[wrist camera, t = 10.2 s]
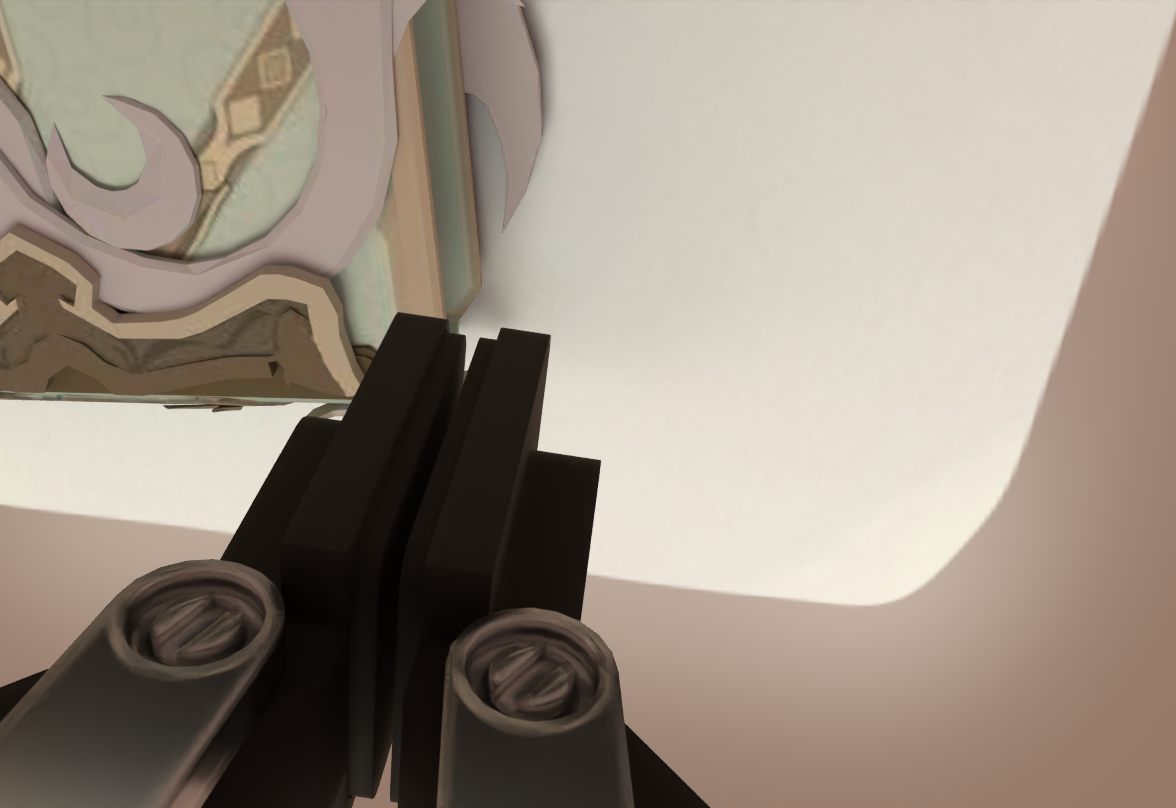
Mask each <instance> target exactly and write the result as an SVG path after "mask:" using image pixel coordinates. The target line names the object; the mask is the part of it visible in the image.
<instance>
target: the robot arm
mask: <svg viewBox="0 0 1176 808" xmlns="http://www.w3.org/2000/svg"><path fill="white" fill-rule="evenodd" d="M550 339H551V335H548V334H541V333H535V332H528V331H521V330H515V329H508V328H501V329H500V332H499V335H498V338H497V340H494V339H487V338H480V339H479V341H478V344H477V347H476V349H475V352H474V355H473V358H472V361H471V364H470V366H469V369H468V372H467V375H466V378H465V381H464V383H463V380H464V366H465V353H466V336H465V335H461V334H454V333H450V328H449V321H448V319H442V318H436V317H429V316H423V315H416V314H409V313H403V312H397V314H396V315H395V317H394V319H393V321H392V323H391V324H390V326H389V328H388V330H387V332H386V334H385V336H384V338H383V340H382V342H381V344H380V346H379V348H378V350H377V352H376V354H375V356H374V358H373V360H372V362H371V364H370V366H369V368H368V370H367V372H366V374H365V376H364V378H363V380H362V382H361V383H360V385H359V387H358V389H357V391H356V393H355V395H354V397H353V399H352V401H351V403H350V405H349V407H348V409H347V411H346V413H345V415H344V417H343V419H342V421H339V420H333V419H326V418H319V417H313V416H306V417H303V418H302V419H301V420H300V422H299V423H298V424H297V426H296V427H295V429H294V431H293V433H292V434H291V436H290V438H289V440H288V441H287V443H286V445H285V447H284V448H283V450H282V452H281V454H280V455H279V457H278V459H277V461H276V462H275V464H274V466H273V468H272V469H271V471H270V473H269V475H268V477H267V478H266V480H265V482H264V484H263V485H262V487H261V489H260V491H259V492H258V494H257V496H256V498H255V499H254V501H253V503H252V505H251V506H250V508H249V510H248V512H247V513H246V515H245V517H244V519H243V520H242V522H241V524H240V526H239V527H238V529H237V531H236V533H235V534H234V536H233V538H232V540H231V542H230V543H229V545H228V547H227V549H226V550H225V552H224V554H223V556H222V558H221V559H220V560H214V559H210V560H193V561H184V562H180V563H176V564H172V565H168V566H164V567H160V568H158V569H156V570H154V571H152V572H150V573H148V574H146V575H144V576H142V577H140V578H137V579H136V580H134V581H133V582H132V583H131V584H129V585H128V586H127V587H126V588H125V589H123V590H122V591H121V592H120V593H119V594H117V595H116V596H115V598H114V599H113V600H112V601H111V602H110V603H109V604H108V605H107V606H106V607H105V608H104V609H103V611H102V612H101V613H100V614H99V615H98V616H97V617H96V618H95V619H94V621H92V623H91V624H90V625H89V626H88V627H87V628H86V629H85V630H84V631H83V632H82V634H81V635H80V636H79V637H78V638H77V639H76V640H75V641H74V642H73V643H72V645H71V646H70V647H69V648H68V649H67V650H66V651H65V652H64V653H63V654H62V655H61V656H60V658H59V659H58V660H57V661H56V662H55V663H54V664H53V665H52V666H51V667H50V668H49V669H47V670H44V671H42V672H39V673H36V674H34V675H31V676H29V677H26V678H23V679H21V680H18V681H16V682H13V683H11V684H8V685H6V686H3V687H0V808H352V806H353V802H354V799H355V796H358V797H365V798H371V799H373V798H374V797H375V795H376V793H377V790H378V787H379V784H380V780H381V777H382V774H383V770H384V767H385V764H386V761H387V757H388V754H389V750H390V747H391V744H392V761H391V784H390V800H391V801H392V802H397V803H398V808H710V807H709V806H708V805H707V804H706V803H705V802H704V801H703V800H702V799H701V798H700V797H699V796H698V795H697V794H696V793H695V792H694V791H693V790H692V789H691V788H690V787H689V786H688V785H687V784H686V783H685V782H684V781H683V780H682V779H681V778H680V777H679V776H678V775H677V774H676V773H675V772H674V771H673V770H672V769H671V768H670V767H669V766H668V765H667V764H666V763H665V762H663V760H661V759H660V758H659V757H658V756H657V755H656V754H655V753H654V752H653V751H652V750H651V749H650V748H649V747H648V746H647V745H646V744H645V743H644V742H643V741H642V740H641V739H640V738H639V737H638V736H637V735H636V734H635V733H634V732H633V731H632V730H631V729H630V728H629V727H628V726H627V725H626V724H625V723H624V715H623V707H622V698H621V690H620V682H619V672H618V669H617V666H616V663H615V660H614V656H613V653H612V651H611V650H610V649H609V648H608V646H607V645H606V644H605V642H604V641H603V640H602V638H601V637H600V636H599V635H598V634H597V633H595V632H594V631H593V630H591V629H590V628H589V627H587V626H586V625H584V624H583V623H582V622H580V621H581V613H582V605H583V597H584V589H585V582H586V575H587V567H588V559H589V551H590V544H591V536H592V528H593V520H594V513H595V505H596V497H597V489H598V482H599V474H600V466H601V460H596V459H589V458H582V457H576V456H569V455H563V454H556V453H550V452H543V451H537V448H538V440H539V432H540V424H541V415H542V407H543V399H544V391H545V383H546V375H547V367H548V358H549V350H550Z"/></svg>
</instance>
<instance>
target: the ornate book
mask: <svg viewBox="0 0 1176 808" xmlns="http://www.w3.org/2000/svg"><path fill="white" fill-rule="evenodd" d="M520 6H522V7H526V4H525V3H524V2H523V0H0V399H6V400H47V401H85V402H123V403H159V404H202V405H164V407H166V408H167V409H209V408H214V409H212V412H219V411H229V410H241V409H242V407H243V406H276V405H286V404H290V403H294V402H308V403H327V404H325V405H322V406H320V407H318V408H315V409H313V410H312V411H311V412H310V413H309V414H308V415H307V416H313V417H319V418H326V419H327V418H330V417H333V416H344V415H345V413H346V411H347V409H348V407H349V405H350V403H351V401H352V399H353V397H354V395H355V393H356V391H357V389H358V387H359V385H360V383H361V382H362V380H363V378H364V376H365V374H366V372H367V370H368V368H369V366H370V364H371V362H372V360H373V358H374V356H375V354H376V352H377V350H378V348H379V346H380V344H381V342H382V340H383V338H384V336H385V334H386V332H387V330H388V328H389V326H390V324H391V323H392V321H393V319H394V317H395V315H396V314H397V312H403V313H409V314H416V315H423V316H429V317H436V318H442V319H448V321H449V328H450V333H454V334H459V322H460V318H461V316H462V315H463V313H464V312H465V311H466V309H467V308H468V306H469V305H470V303H471V302H472V300H473V299H474V297H475V296H476V294H477V293H478V291H479V290H480V288H481V284H482V276H481V265H480V254H479V244H478V233H477V222H476V211H475V201H474V190H473V179H472V168H471V158H470V147H469V136H468V125H467V114H466V104H465V93H471V94H472V95H473V96H475V97H476V98H477V99H478V100H479V101H481V102H482V103H483V104H484V105H485V106H487V108H488V110H489V113H490V115H491V118H492V120H493V123H494V125H495V127H496V130H497V132H498V135H499V137H500V141H501V145H502V150H503V155H504V160H505V165H506V169H507V174H508V179H509V185H508V193H507V200H506V208H505V215H504V223H503V231H504V230H505V228H506V226H507V224H508V223H509V221H510V219H511V217H512V216H513V214H514V212H515V210H516V209H517V207H518V205H519V203H520V202H521V200H522V198H523V196H524V195H525V192H526V190H527V186H528V183H529V179H530V176H531V172H532V169H533V166H534V162H535V159H536V155H537V152H538V149H539V145H540V142H541V138H542V135H543V124H542V105H541V87H540V69H539V65H538V62H537V59H536V56H535V52H534V49H533V46H532V43H531V39H530V36H529V33H528V30H527V26H526V23H525V20H524V17H523V13H522V10H521V7H520ZM503 231H502V233H503ZM467 372H468V371H464V380H463V383H464V381H465V378H466V375H467Z"/></svg>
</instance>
